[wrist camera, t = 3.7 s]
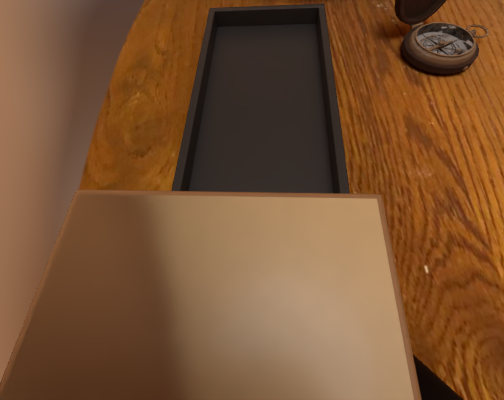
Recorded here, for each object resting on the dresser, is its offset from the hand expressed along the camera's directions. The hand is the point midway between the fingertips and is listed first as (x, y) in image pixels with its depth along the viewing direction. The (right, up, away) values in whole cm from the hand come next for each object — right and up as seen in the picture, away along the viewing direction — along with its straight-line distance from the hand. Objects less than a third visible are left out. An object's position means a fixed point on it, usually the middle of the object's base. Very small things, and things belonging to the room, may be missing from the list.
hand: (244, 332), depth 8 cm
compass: (+18, +19, +16) cm, 30 cm away
